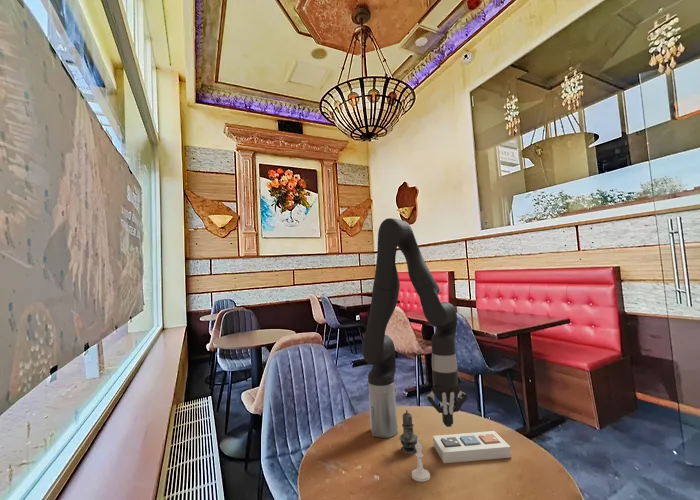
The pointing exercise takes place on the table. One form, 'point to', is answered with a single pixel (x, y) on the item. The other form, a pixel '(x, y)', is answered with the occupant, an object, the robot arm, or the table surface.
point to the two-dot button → (489, 439)
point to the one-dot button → (469, 440)
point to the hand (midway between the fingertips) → (448, 425)
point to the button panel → (471, 449)
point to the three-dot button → (450, 442)
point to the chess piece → (420, 466)
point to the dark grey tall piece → (408, 435)
